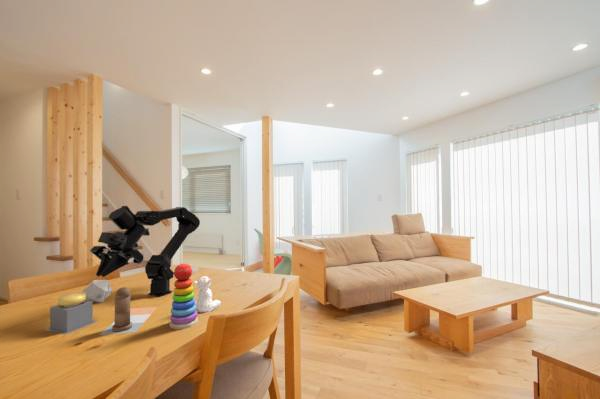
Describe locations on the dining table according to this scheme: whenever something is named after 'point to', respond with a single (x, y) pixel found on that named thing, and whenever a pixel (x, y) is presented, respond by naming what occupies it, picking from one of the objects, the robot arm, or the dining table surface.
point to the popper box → (70, 317)
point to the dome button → (71, 299)
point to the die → (98, 291)
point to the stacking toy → (183, 299)
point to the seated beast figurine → (205, 296)
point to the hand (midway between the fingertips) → (99, 276)
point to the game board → (133, 320)
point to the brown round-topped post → (122, 310)
